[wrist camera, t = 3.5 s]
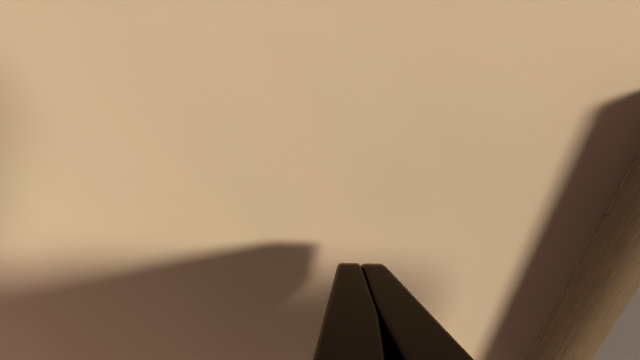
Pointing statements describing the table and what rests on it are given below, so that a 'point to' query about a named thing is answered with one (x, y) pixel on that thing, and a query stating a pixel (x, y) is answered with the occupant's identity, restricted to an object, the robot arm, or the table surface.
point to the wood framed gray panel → (602, 289)
